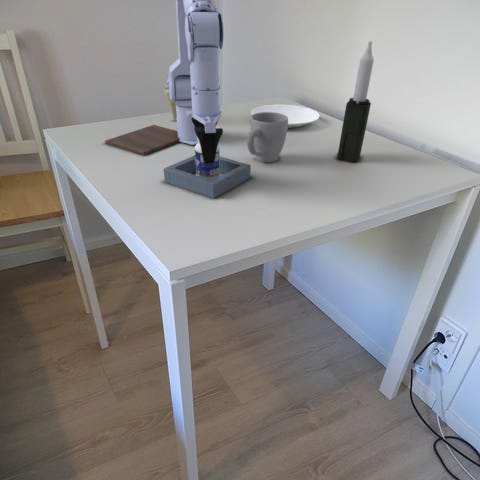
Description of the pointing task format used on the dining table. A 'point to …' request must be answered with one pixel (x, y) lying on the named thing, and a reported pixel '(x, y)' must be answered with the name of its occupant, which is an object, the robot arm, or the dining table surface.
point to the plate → (290, 113)
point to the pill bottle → (206, 164)
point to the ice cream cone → (171, 104)
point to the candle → (357, 112)
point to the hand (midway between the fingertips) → (207, 157)
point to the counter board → (145, 139)
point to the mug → (267, 135)
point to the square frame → (185, 179)
